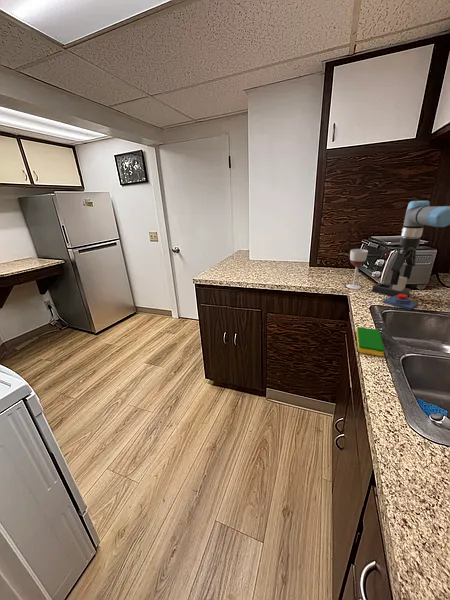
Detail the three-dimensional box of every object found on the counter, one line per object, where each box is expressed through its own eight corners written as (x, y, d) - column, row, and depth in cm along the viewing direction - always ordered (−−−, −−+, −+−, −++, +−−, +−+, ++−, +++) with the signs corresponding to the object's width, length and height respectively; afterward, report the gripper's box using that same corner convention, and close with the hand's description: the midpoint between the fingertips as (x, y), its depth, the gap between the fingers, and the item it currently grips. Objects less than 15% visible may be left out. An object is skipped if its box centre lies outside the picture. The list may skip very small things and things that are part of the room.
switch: (407, 298, 112) (408, 295, 111) (404, 300, 110) (405, 297, 109) (398, 296, 115) (399, 293, 114) (395, 298, 113) (396, 295, 112)
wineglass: (347, 289, 134) (353, 252, 126) (343, 283, 142) (348, 249, 134) (363, 289, 132) (370, 252, 124) (358, 284, 140) (364, 248, 132)
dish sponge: (378, 335, 90) (379, 329, 89) (383, 356, 78) (384, 350, 77) (356, 332, 93) (357, 326, 92) (358, 352, 81) (359, 346, 80)
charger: (403, 294, 123) (407, 277, 120) (399, 296, 121) (403, 279, 118) (394, 292, 126) (398, 275, 123) (390, 294, 124) (394, 277, 121)
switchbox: (417, 305, 111) (419, 299, 110) (410, 310, 107) (412, 303, 106) (391, 298, 120) (392, 292, 119) (383, 302, 116) (384, 296, 114)
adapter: (409, 294, 123) (410, 289, 121) (402, 298, 119) (403, 293, 117) (379, 287, 133) (380, 282, 132) (371, 291, 129) (373, 285, 128)
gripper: (412, 233, 122) (402, 274, 130) (389, 239, 109) (379, 285, 117) (430, 234, 116) (419, 277, 125) (408, 241, 103) (397, 289, 112)
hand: (400, 281), depth 121 cm, fingers open, 13 cm apart
